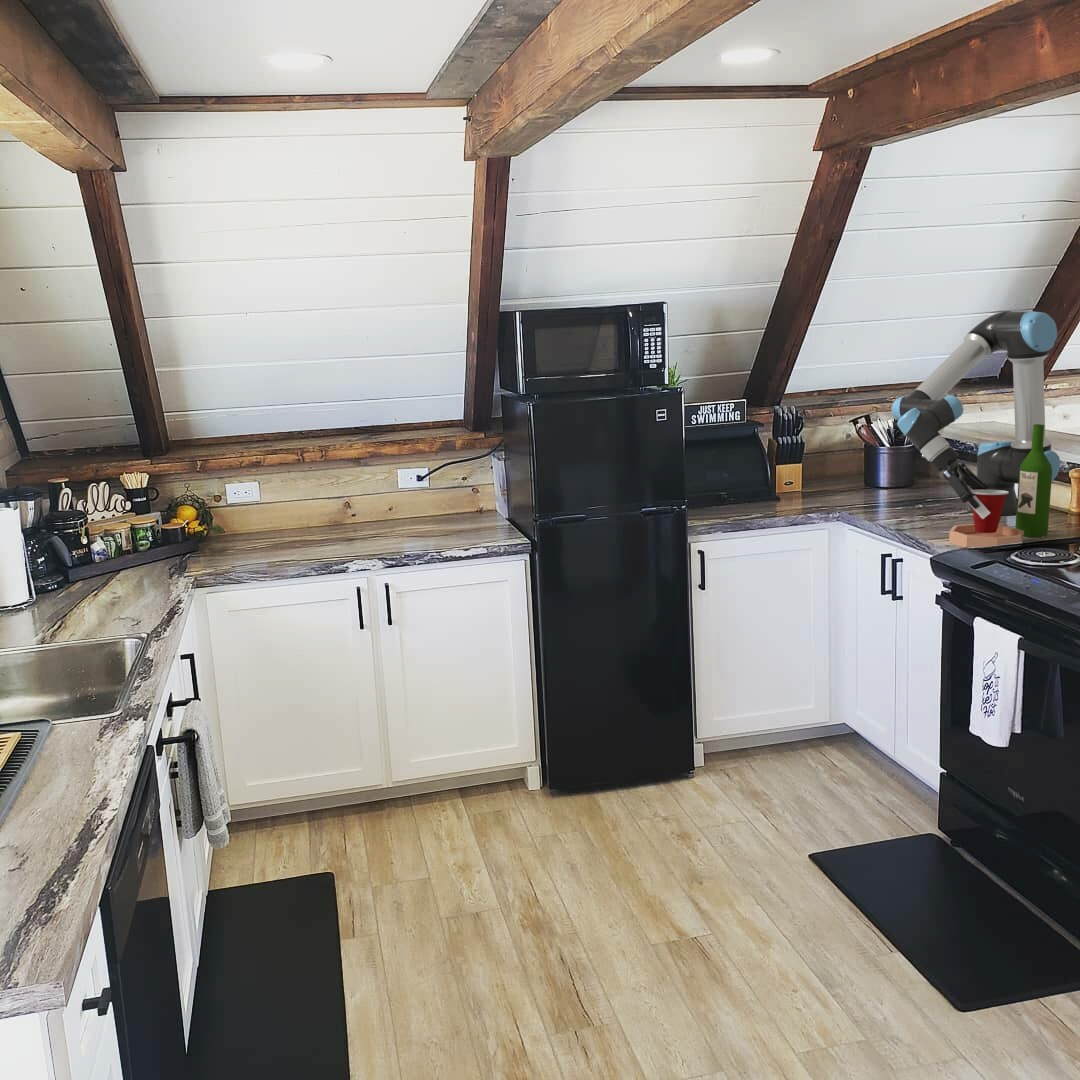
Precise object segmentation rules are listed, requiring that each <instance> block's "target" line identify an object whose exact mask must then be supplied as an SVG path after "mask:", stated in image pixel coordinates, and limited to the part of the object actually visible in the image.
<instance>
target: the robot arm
mask: <svg viewBox="0 0 1080 1080" xmlns="http://www.w3.org/2000/svg"><path fill="white" fill-rule="evenodd" d="M1057 338H1058V329H1057V324H1056V322H1055V321H1054V318H1052V317H1051V316H1050V315H1049V314H1047V313H1045V312H1044V311H1043V312H1042V311H1041V312H1040V311H1034V310H1032V311H1008V310H1007V311H1001V312H996V313H994V314H992V315H990V316H989V317H987V318H985V319H984V320H983V321H981V322H980V323H978V324H977V325H976V326H974V328H973V327H972V329H971V330H970V331H968V333H967V334H965V336H964V338H963V342H962V343H961V344H960V345H959V346H958V347H957V348H956V349H955V350H954V351H953V352H951V354H950V355H949V356H948V357H946V359H945V360H944V361H943V362H941V364H940V365H939V366H937V367H936V369H935V370H933V372H932V373H931V374H930V375H929V376H928V377H927V378H926V379H924V380H923V382H921V383H920V384H919V385H918V386H917V387H916V388H915V389H914V390H913V391H912V392H911V393H910V394H909V395H908V396H900V397H897V398H896V399H895V400H894V401H893V403H892V405H891V414H892V416H893V418H894V419H895V420H896V421H897V423H896V425H897V427H898V428H899V430H900V432H901V433H902V434H903V435H904V436H905V437H906V438H907V440H909V441H910V443H912V444H913V446H914V447H915V448H916V449H917V450H918V451H919V452H920V454H922V455H921V457H922V458H925V459H926V461H928V462H930V466H932V468H934V470H935V471H936V472H938V473H941V472H942V474H941V475H942V477H943V478H944V479H945V480H946V481H947V482H948V483H949V485H950V487H952V490H953V491H955V493H956V495H957V496H958V497H959V499H960V500H961V503H963V504H965V503H968V510H970V511H969V512H971V513H973V510H972V508H973V509H974V510H975V511H976V512H977V514H978V515H979V516H980V517H981V518H982V519H984V518H985V517H986V516H988V515H989V514H990V511H989V510H988V509H987V508H986V507H985V506H984V505H983V504H982V502H981V501H980V500H979V499H978V498H977V497H976V496H973V494H972V493H971V491H970V490H1002V491H1008V492H1009V493H1008V494H1007V496H1006V499H1005V503H1004V506H1003V510H1002V514H1001V516H1014V515H1016V510H1017V493H1016V490H1015V485H1017V484H1018V480H1019V469H1020V465H1021V463H1022V462H1023V461H1024V459H1025V458H1026V457H1027V455H1028V454H1029V453H1030V451H1031V447H1032V435H1033V425H1035V424H1042V425H1044V439H1043V452H1044V454H1045V455H1046V457H1047V459H1048V461H1049V462H1050V464H1051V467H1052V481H1051V483H1052V482H1053V481H1054V480H1055V478H1056V477H1057V476H1058V474H1059V471H1060V468H1061V458H1060V456H1059V455H1058V453H1057V452H1055V451H1054V450H1052V442H1051V440H1049V439H1048V438H1047V437H1046V411H1045V409H1046V408H1045V407H1046V406H1045V405H1046V404H1045V373H1044V370H1045V369H1044V368H1045V367H1044V360H1045V359H1046V358H1047V357H1049V354H1050V353H1049V350H1051V349H1052V348H1053V347H1054V345H1055V342H1056V341H1057V340H1058V339H1057ZM1001 350H1003V351H1006V358H1007V360H1008V361H1010V362H1011V363H1012V373H1013V380H1012V381H1013V402H1014V403H1013V404H1014V405H1013V408H1014V429H1015V430H1014V434H1015V435H1014V436H1015V439H1014V440H1000V441H999V440H998V441H987V442H982V443H981V444H980V445H979V446H978V452H977V456H976V457H977V459H976V474H975V473H974V472H973V471H972V470H971V469H970V468H968V466H967V465H966V464H965V463H964V462H963V463H961V464H960V463H959V462H958V461H957V460H958V459H959V457H960V454H959V453H958V452H957V451H956V450H955V449H954V448H953V447H950V443H949V442H948V441H947V440H946V439H945V437H943V435H942V434H941V433H940V432H939V431H941V430H942V429H944V428H946V427H947V426H949V425H951V424H952V423H954V422H956V420H958V419H959V418H960V417H961V416H962V415H963V413H964V406H963V404H962V402H961V400H960V399H959V398H958V397H957V396H954V395H952V394H948V395H946V394H947V393H948V392H949V391H950V390H951V389H953V388H954V387H955V386H956V385H957V384H958V383H959V382H960V381H961V379H963V377H965V376H966V375H967V373H969V372H970V371H971V370H972V369H973V368H974V367H975V366H976V365H977V364H978V363H979V362H980V361H981V360H982V359H987V358H989V357H990V356H991V355H992V354H993V353H995V352H997V351H1001ZM969 487H970V488H969Z"/></svg>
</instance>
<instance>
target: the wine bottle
mask: <svg viewBox="0 0 1080 1080" xmlns="http://www.w3.org/2000/svg"><path fill="white" fill-rule="evenodd" d="M1043 439H1044V425H1042V424H1035V425H1033V435H1032V447H1031V451H1030V453H1029V454H1028V455H1027V457H1026V458H1025V459H1024V461H1023V462H1022V463H1021V465H1020V469H1019V480H1018V485H1017V494H1016V496H1017V510H1016V514H1015V527H1014V528H1016V529H1020V530H1023V531H1024V535H1023V538H1036V537H1037V538H1043V537H1042V536H1045V537H1047V536H1048V535H1049V533H1048V532H1049V522H1050V519H1049V518H1050V506H1051V493H1052V492H1051V491H1052V482H1053V481H1052V467H1051V464H1050V462H1049V461H1048V459H1047V457H1046V455H1045V454H1044V452H1043ZM1051 481H1052V482H1051Z"/></svg>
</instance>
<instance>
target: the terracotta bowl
mask: <svg viewBox="0 0 1080 1080" xmlns="http://www.w3.org/2000/svg"><path fill="white" fill-rule="evenodd" d="M948 535H949V537H948V543H949V542H950V543H949V544H951V543H952V545H956V546H959V547H961V548H964V547H987V546H995V545H1001V544H1009V543H1017V542H1021V541H1023V542H1024V537H1023V535H1024V531H1023V530H1020V529H1016V528H1015V527H1011V526H1008V525H1002V524H998V529H997V531H996V532H995V533H981V532H977V531H975V526H974V523H968V524H958V525H956V524H955V525H953V526H952V527H951V529H949V534H948Z"/></svg>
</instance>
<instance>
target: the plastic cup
mask: <svg viewBox="0 0 1080 1080" xmlns="http://www.w3.org/2000/svg"><path fill="white" fill-rule="evenodd" d="M970 491H971V493H972V494H973V496H976V497H977V498H978V499H979V500H980V501H981V502H982V504H983V505H984V506H985V507H986V508H987V509H988V510H989V511H990V514H989V515H988V516H986V517H985V518H984V519H982V518H981V517H980V516H979V515H978V514H977V512H976V511H975V510H974V509H973V508H972V510H973V512H972V517H973V524H974V526H975V531H977V532H981V533H995V532H996V531H997V529H998V525H1000V521H1001V516H1002V515H1001V514H1002V510H1003V506H1004V503H1005V499H1006V496H1007V494H1008V493H1009V492H1008V491H1002V490H973V489H970Z"/></svg>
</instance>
